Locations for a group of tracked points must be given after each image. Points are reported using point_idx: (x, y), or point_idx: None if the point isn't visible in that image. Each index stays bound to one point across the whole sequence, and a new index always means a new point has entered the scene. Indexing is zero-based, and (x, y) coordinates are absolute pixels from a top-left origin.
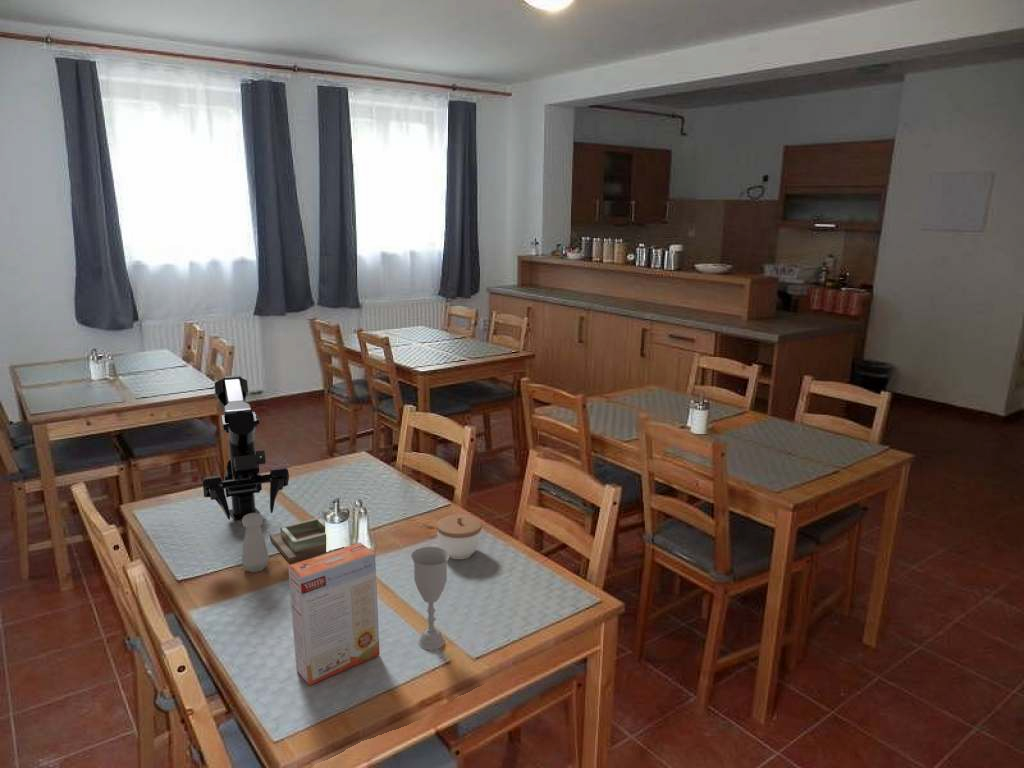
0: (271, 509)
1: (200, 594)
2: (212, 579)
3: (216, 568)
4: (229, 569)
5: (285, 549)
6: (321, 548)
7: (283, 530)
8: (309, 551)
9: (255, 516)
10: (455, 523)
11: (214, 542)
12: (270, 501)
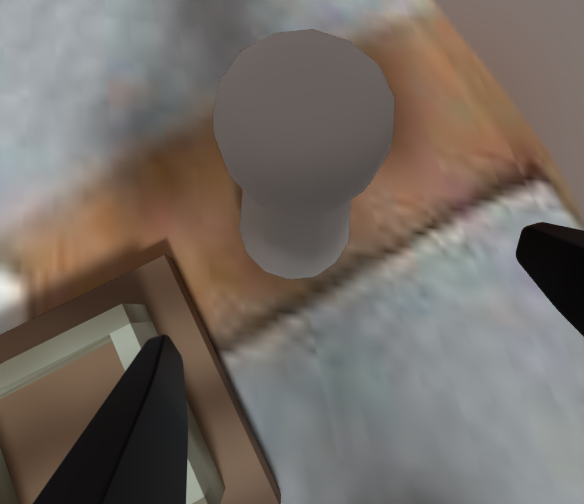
0: (154, 343)
1: (434, 84)
2: (427, 171)
3: (440, 248)
4: (389, 235)
5: (187, 337)
6: (27, 328)
7: (190, 465)
8: (81, 306)
9: (265, 64)
10: None
11: (530, 494)
12: (131, 420)
